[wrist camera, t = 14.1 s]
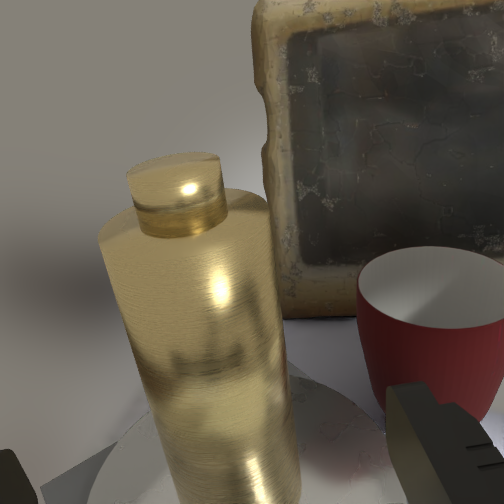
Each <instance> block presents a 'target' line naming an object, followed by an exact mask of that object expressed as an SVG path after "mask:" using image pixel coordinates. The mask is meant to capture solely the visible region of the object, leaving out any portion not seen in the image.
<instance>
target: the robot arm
mask: <svg viewBox="0 0 504 504" xmlns="http://www.w3.org/2000/svg"><path fill="white" fill-rule="evenodd" d="M386 443H387V448H388V452H389V456H390V459H391V462H392V465H393V468H394V470H395V472H396V475H397V477H398V479H399V482H400V484H401V486H402V489H403V491H404V493H405V496H406V498H407V500H408V503H409V504H504V458H503V456H502V455H501V453H500V452H499V451H498V449H497V448H496V447H494V445H493V442H492V440H491V439H490V437H489V436H488V434H487V433H486V432H485V430H484V429H483V427H482V426H481V424H480V423H479V421H478V420H477V419H476V418H475V417H473V416H472V415H471V414H469V413H468V412H467V411H465V410H464V409H463V408H462V407H460V406H459V405H458V404H456V403H455V402H451V403H445V404H440V405H439V404H438V402H437V400H436V399H435V397H434V395H433V394H432V392H431V391H430V389H429V387H428V386H427V384H426V383H425V382H423V381H417V382H411V383H405V384H399V385H393V386H388V387H387V389H386ZM0 504H38V499H37V495H36V493H35V491H34V489H33V487H32V485H31V483H30V482H29V479H28V478H27V476H26V474H25V472H24V470H23V468H22V467H21V464H20V463H19V461H18V459H17V457H16V455H15V453H14V452H13V451H12V450H10V449H4V450H0Z"/></svg>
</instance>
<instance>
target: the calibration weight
mask: <svg viewBox="0 0 504 504" xmlns="http://www.w3.org/2000/svg"><path fill="white" fill-rule="evenodd" d="M126 176H127V180H128V184H129V188H130V191H131V195H132V199H133V203H134V206H132V207H130V208H128V209H126V210H124V211H122V212H121V213H119V214H117V215H116V216H114V217H113V218H111V220H109V221H108V222H107V223H106V224H105V225H104V226H103V227H102V229H101V231H100V232H99V235H98V243H99V246H100V249H101V252H102V255H103V259H104V262H105V265H106V268H107V271H108V275H109V278H110V281H111V284H112V287H113V291H114V294H115V297H116V300H117V303H118V306H119V310H120V313H121V316H122V319H123V323H124V326H125V329H126V332H127V335H128V339H129V342H130V345H131V348H132V352H133V354H134V358H135V361H136V364H137V368H138V371H139V374H140V377H141V380H142V384H143V387H144V390H145V393H146V396H147V400H148V403H149V406H150V409H151V412H152V416H153V419H154V422H155V425H156V428H157V432H158V435H159V438H160V441H161V444H162V448H163V451H164V454H165V457H166V460H167V464H168V467H169V470H170V473H171V476H172V480H173V483H174V486H175V489H176V492H177V496H178V499H179V502H180V504H299V501H300V497H301V491H302V480H301V471H300V463H299V455H298V446H297V438H296V430H295V421H294V413H293V404H292V396H291V388H290V379H289V371H288V363H287V354H286V346H285V337H284V329H283V321H282V312H281V304H280V296H279V287H278V279H277V271H276V262H275V254H274V245H273V237H272V229H271V220H270V212H269V206H268V204H267V202H266V201H265V200H264V199H263V198H262V197H260V196H259V195H256V194H254V193H251V192H248V191H244V190H239V189H228V188H224V183H223V177H222V171H221V165H220V159H219V157H218V156H217V155H215V154H211V153H206V152H189V153H178V154H172V155H166V156H162V157H158V158H154V159H151V160H148V161H145V162H143V163H140V164H138V165H136V166H134V167H133V168H131V169H130V170H129V171H128V172H127V174H126Z"/></svg>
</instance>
